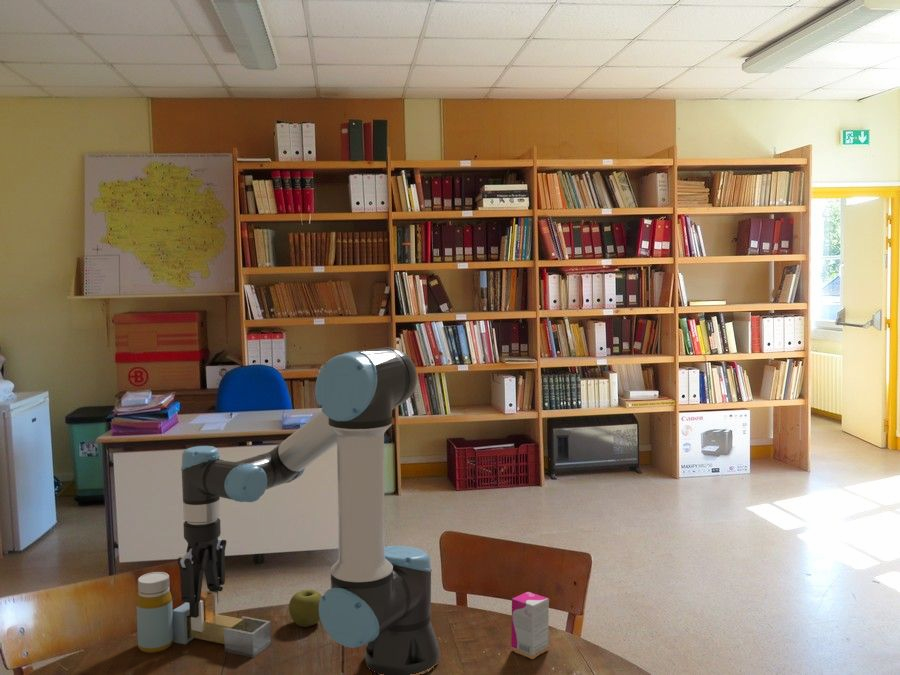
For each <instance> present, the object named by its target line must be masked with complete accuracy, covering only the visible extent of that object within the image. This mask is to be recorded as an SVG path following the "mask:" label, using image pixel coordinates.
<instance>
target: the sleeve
mask: <svg viewBox="0 0 900 675" xmlns="http://www.w3.org/2000/svg"><path fill="white" fill-rule="evenodd" d="M240 619H243V623H244V631H241V630H236V629H231V628H225V629H224V639H225V644H224V652H225V653H229V654H234V655H238V656H243V657H246V658H247V657H248V658H252V659H254V658H255V657H256V656H258V655H259V654H260V653H261V652H263V650H265V649H266V648H267V647H269V646H270V645H271V644H272V639H271V638H272V635H271V633H272V632H271V630H272V629H271V627H272V626H271V620H266V619H265V620H264V619H259V618H254V617H249V616H241V617H240Z"/></svg>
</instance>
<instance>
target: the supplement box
mask: <svg viewBox="0 0 900 675" xmlns="http://www.w3.org/2000/svg"><path fill="white" fill-rule="evenodd" d="M549 605H550V598H548V597H546V596H542V595H539V594H537V593H533V592H531V591H526V592H523V593H522V594H519V595H517V596H515V597H512V598H511V631H510V632H511V634H510V635H511V638H510V641H511V642H510V647H511V646H512V647H514V648H516V649H518V650H520V651H522V652H525V653H526V654H530V655H535V654H536V653H538V652H539V651H541V650H543V649H544V648H545V647H547V646H548V647H549V617H550V616H549V613H550V612H549V610H550V608H549Z"/></svg>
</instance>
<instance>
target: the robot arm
mask: <svg viewBox="0 0 900 675" xmlns="http://www.w3.org/2000/svg"><path fill="white" fill-rule="evenodd" d="M315 380H316V382H315V384H314V385H315V387H314V394H315V398H316V399H315V400H316V403H317V406H318V407H321V411H320V412H319V413H318V414H315V415H314V417H312V418H311V419H309V420H308V421H307V422H305V423H304V424H303V425H302V426H301V427H300V428H298V429H297V430H295V431H294V432H293V433H292V434H290V435H289V436H288V437H286V439H284V440H283V441H282V442H280V443H279V444H277V445H276V447H274V448H273V449H271V450H270V451H268V452H264V453H261V454H258V455H256V456H252V457H249V458H245V459H242V460H238V461H230V460H229V461H228V460H224V459H220V454H219V449H218V448H217V447H215V446H213V445H197V446H192V447H188V448H186V449H184V450H183V451H182V454H181V468H180V471H181V487H182V503H183V506H182V507H183V508H182V510H183V514H182V515H183V520H184V522H183V525H182V526H183V539H184V540H185V541H186V543H187V548H186V554H185V555H184V556H183V557H181V556H179V557H178V558H177V564H178V568H179V577H180V594H181V602H183V603H186V602H188V603H189V605H190V617H191V630H195V631H200V632H202V631H204V611H203V601H202V600H200V599H201V592H202V588H203V578H205V584H206V586H207V590H206V591H205V592H211V593H213V614H218V615H219V610H218V609H219V608H218V606H219V605H218V604H219V592H222V590H223V585H225V583H226V547H227V542H228V541H227V540H226V539H221V538H219V537H220V536H221V533H222V532H221V519H220V517H221V499H223V498H224V499H227V500H231V501H235V502H238V503H239V502H240V503H254V502H256V501H258V500H259V499H260V498H261V497H262V496H263V495H264V494H265V492H266V491H267V490H269V489H272V488H275V487H278V486H281V485H284V484H289V483H291V482H292V481H295V480H296V479H299V478H300V477H301V476H303V474H304V471H305V469H306V468H307V467H309V466H310V465H311V464H313V463H314V462H315V461H317V460H319V458H321V457H322V456H324V454H326V453H327V452H329V451H331V449H333V448H334V447H335V446H336V450H337V452H336V454H337V456H336V457H337V458H336V459H337V461H336V462H337V510H338V511H337V517H338V519H337V521H338V522H337V523H338V525H337V526H338V529H337V530H338V534H337V535H338V560H337V561H336V562H335V563H334V564H333V565H332V566H331V568H330V589H327V590H326V591H325V592H324V594H323V595H322V597H321V599H320V602H319V617H320V620H319V621H320V622H321V625H322V627H323V629H324V630H325V631H326V633H328V634H329V636H330V638H331V639H332V640H334V641H335V642H336V643H338V644H339V645H342V646H343V647H346V648H352V649H355V648H361V647H363V646H365V645H366V647H365V652H364V656H365V659H364V660H365V661H366V662H365V661H364V662H365V665H366V664H367V665H366V667H367V666H368V667H369V668H370V669H371V670H373V671H375V672H376V673H379V674H384V675H410V674H416V673H419V672H422V671H425V670H427V669H429V668H431V667H432V666H433V665H435V664H436V663H437V661H438V659H439V660H440V646H439V643H438V639H437V636H436V634H435V631H434V628H433V625H432V622H431V621H432V617H431V616H432V615H431V614H432V606H431V605H432V602H431V601H432V567H431V565H432V564H431V558H430V555H429V554H428V553H427V552H426V551H425V550H424V549H421V548H417V547H413V546H408V545H389V546H386V542H385V540H386V539H385V538H386V534H385V530H386V529H385V527H386V526H385V523H386V522H385V513H386V512H385V433H386V431H387V430H388V429H390V427H391V426H392V425H393V410H394V409H395V408H397V407H399V406H400V405H402V404H404V403H405V402H406V401H408V400H409V398H411V397H412V395H413V394H414V392H415V389H416V388H417V384H418V383H417V382H418V374H417V368H416V366H415V363H414V362H413V360H412V359H411V358H410V356H409V355H407V353H405V352H404V351H402V350H400V349H398V348H395V347H389V346H386V347H385V346H384V347H382V346H381V347H377V348H371V349H365V350H364V349H362V350H357V351H356V350H355V351H347V352H343V353H342V354H338V355H336V356H333V357H332V358H330V359H329V360H328V361H327V362H326V363H325V364H324V365H323V366H322V367H321V369H320V370H319V372H318V375H317V376H316V379H315ZM368 667H367V668H368ZM369 668H368V669H369ZM370 669H369V670H370ZM371 670H370V671H371ZM373 671H372V672H373ZM376 673H375V674H376ZM379 674H378V675H379Z"/></svg>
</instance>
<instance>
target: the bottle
mask: <svg viewBox="0 0 900 675" xmlns="http://www.w3.org/2000/svg"><path fill="white" fill-rule="evenodd" d="M137 589H138V591H137V592H138V596H137V599H136V623H137V624H136V626H137V627H136V628H137V629H136V630H137V646H138V649H139V650H141V652H143V653H147V654H155V653H160V652H163V651H165V650H167V649H169V648H170V647H171V646H172V644H173V643H174V642H173V611H172V610H173V596H172V592H171V591H170V575H169V574H168V573H167V572H165V571H154V572H153V571H152V572H148V573H145V574H142V575H141V576H140V577H138V578H137Z"/></svg>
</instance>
